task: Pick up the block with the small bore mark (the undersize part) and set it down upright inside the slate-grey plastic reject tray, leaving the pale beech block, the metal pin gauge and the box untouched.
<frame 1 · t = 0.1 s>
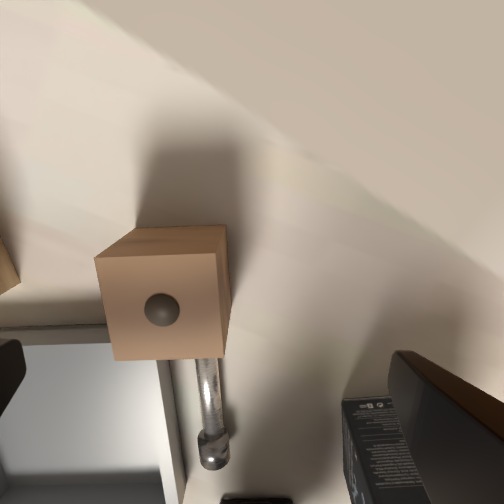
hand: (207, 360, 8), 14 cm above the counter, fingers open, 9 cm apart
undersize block: (185, 268, 23), on the counter
box: (374, 432, 28), on the counter
tray: (76, 413, 27), on the counter
pin gauge: (210, 378, 26), on the counter
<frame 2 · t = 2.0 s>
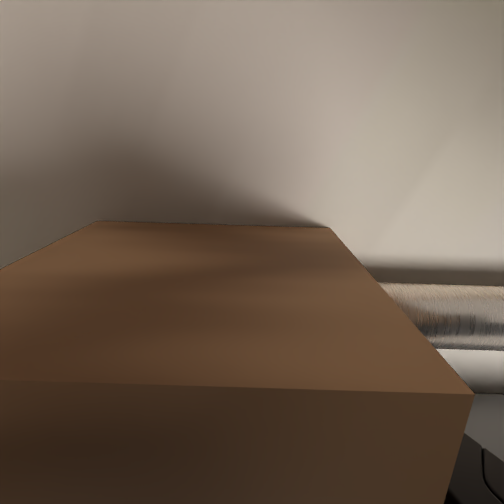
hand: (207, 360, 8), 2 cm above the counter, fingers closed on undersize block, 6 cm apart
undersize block: (214, 326, 10), on the counter, touching gripper
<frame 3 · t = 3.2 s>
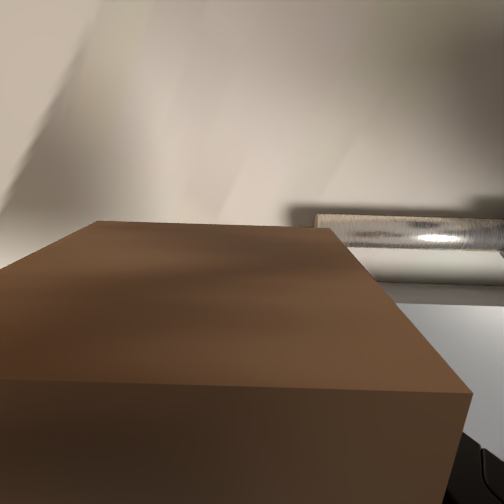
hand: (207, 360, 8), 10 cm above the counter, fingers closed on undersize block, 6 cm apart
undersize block: (214, 326, 10), point 8 cm above the counter, touching gripper
tray: (427, 403, 21), on the counter
pin gauge: (410, 229, 17), on the counter
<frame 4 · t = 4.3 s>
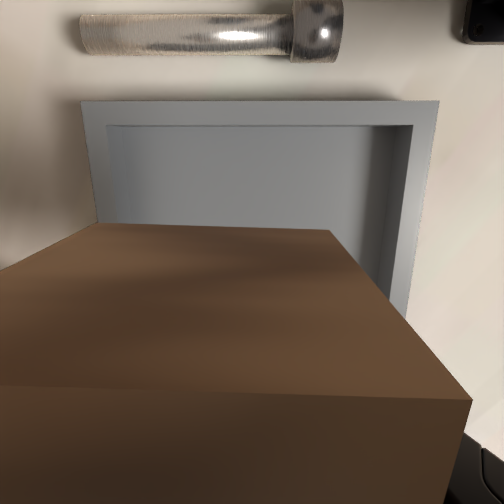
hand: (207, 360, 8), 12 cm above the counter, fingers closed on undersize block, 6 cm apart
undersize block: (213, 328, 10), point 10 cm above the counter, touching gripper
tray: (257, 253, 20), on the counter
pin gauge: (197, 40, 16), on the counter
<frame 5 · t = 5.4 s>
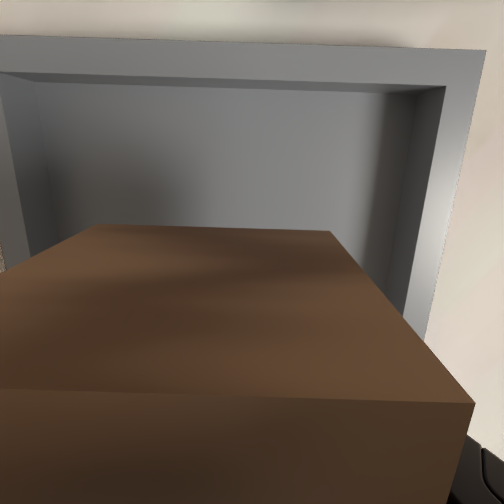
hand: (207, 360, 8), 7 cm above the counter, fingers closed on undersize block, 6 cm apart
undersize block: (214, 329, 10), point 6 cm above the counter, touching gripper
tray: (226, 263, 15), on the counter
when the fingers open (3 cm above the counter, at t = 6.5 s): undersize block drops 1 cm, resting on tray.
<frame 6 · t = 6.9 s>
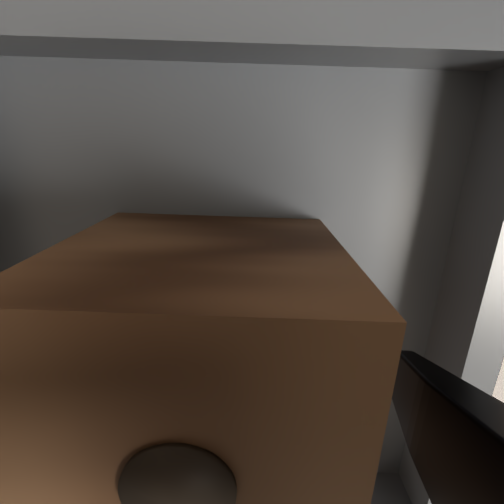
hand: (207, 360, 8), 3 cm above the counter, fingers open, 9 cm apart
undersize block: (218, 306, 11), point 1 cm above the counter, touching tray
tray: (220, 297, 11), on the counter
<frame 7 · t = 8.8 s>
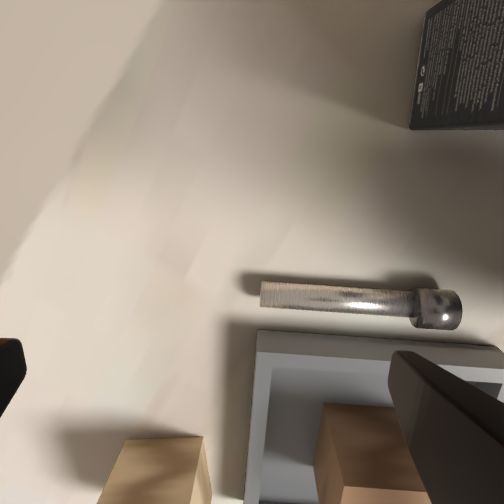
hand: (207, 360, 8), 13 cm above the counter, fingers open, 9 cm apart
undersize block: (359, 438, 24), point 1 cm above the counter, touching tray
box: (487, 75, 18), on the counter
tray: (357, 431, 25), on the counter
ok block: (170, 466, 27), on the counter
pin gauge: (338, 294, 21), on the counter
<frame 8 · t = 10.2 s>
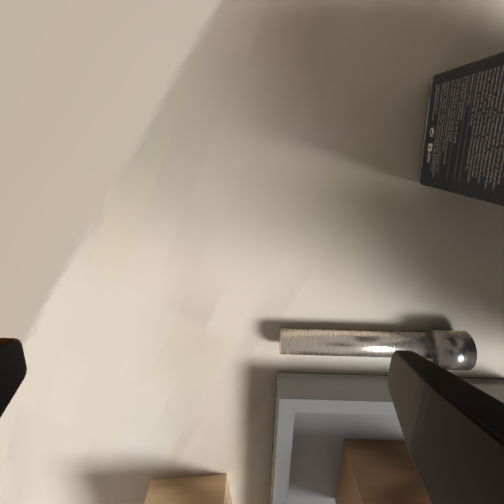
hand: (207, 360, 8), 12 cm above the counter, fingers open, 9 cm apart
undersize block: (379, 471, 25), point 1 cm above the counter, touching tray
box: (492, 130, 18), on the counter
tray: (376, 463, 26), on the counter
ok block: (195, 503, 27), on the counter
pin gauge: (355, 336, 22), on the counter
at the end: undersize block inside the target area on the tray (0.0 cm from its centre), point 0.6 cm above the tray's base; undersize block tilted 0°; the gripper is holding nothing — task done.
